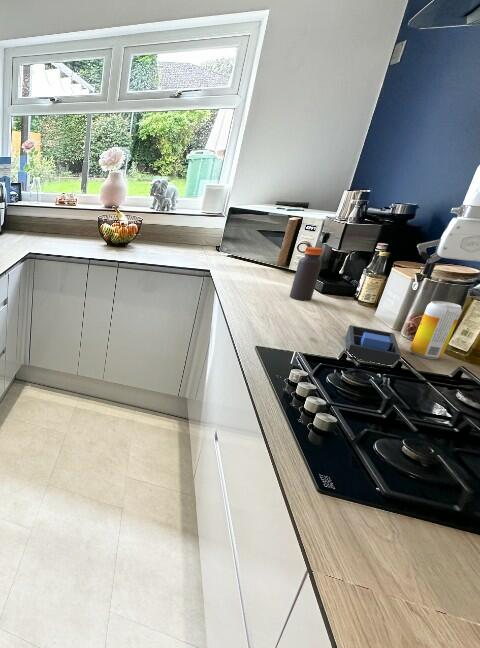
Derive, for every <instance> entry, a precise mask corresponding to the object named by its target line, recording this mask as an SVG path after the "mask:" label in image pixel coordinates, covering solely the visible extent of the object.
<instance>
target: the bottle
mask: <svg viewBox="0 0 480 648" xmlns="http://www.w3.org/2000/svg"><path fill="white" fill-rule="evenodd" d="M322 253H323V248H322V247H317V246H316V247H315V246H307V247H305V250H304V256H303V257H302V258H300V259H299V260H298V262H297V268H296V270H295V274H294V277H293V282H292V285H291V288H290V293H289V297H290V298H291V297H292V298H291V299H293V298H295V299H294V300H297V299H299V300H298V301H304V300H309V301H311V300H312V299H313V295H314V292H315V289H316V285H317V281H318V277H319V275H320V271H321V268H322V265H323V262H322V260H321V259H320V257H321V255H322Z"/></svg>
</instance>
